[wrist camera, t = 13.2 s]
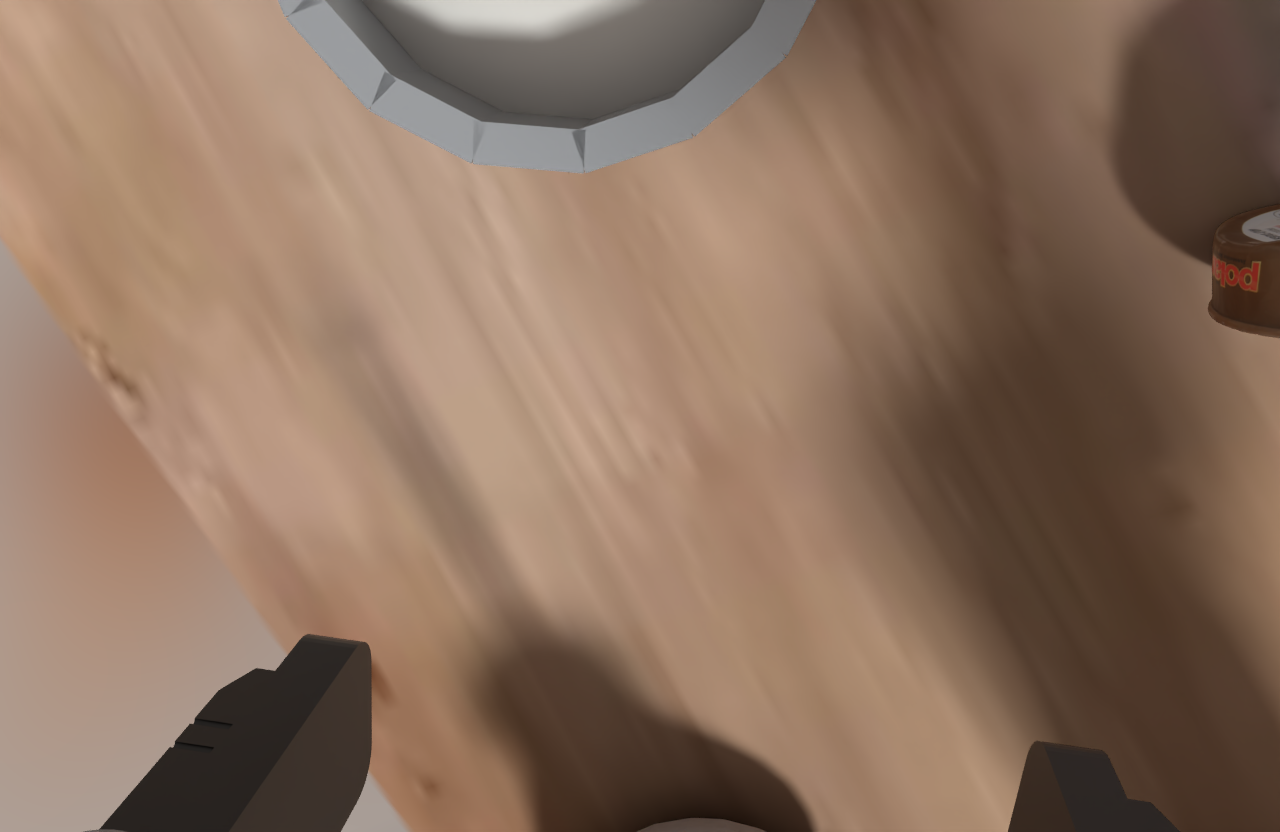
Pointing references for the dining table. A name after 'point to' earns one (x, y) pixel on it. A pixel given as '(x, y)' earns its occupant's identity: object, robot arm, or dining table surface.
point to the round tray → (549, 70)
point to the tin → (1248, 272)
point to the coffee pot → (700, 826)
